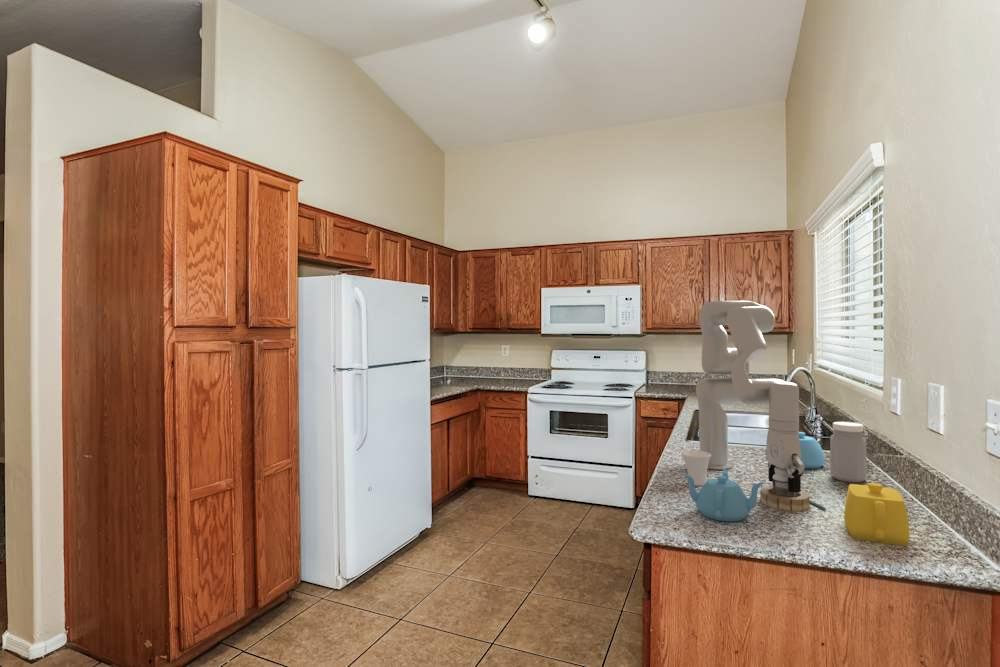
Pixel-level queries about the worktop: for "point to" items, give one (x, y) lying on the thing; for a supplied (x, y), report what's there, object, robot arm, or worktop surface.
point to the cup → (697, 465)
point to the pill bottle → (781, 483)
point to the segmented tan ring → (784, 500)
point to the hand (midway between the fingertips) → (784, 486)
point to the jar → (848, 452)
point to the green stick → (817, 505)
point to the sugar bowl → (811, 452)
